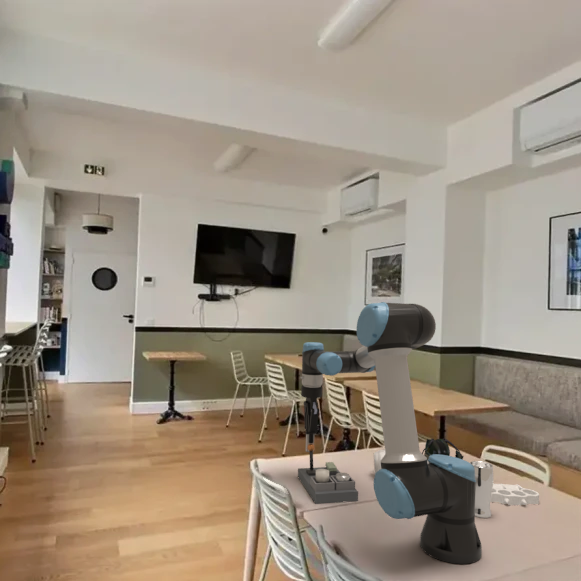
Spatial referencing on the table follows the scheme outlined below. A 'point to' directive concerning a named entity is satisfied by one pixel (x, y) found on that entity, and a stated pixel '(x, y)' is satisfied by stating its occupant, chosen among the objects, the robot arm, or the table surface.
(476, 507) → the beer glass
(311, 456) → the toggle lever
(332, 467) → the rocker switch
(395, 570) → the table surface
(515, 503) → the knuckle duster
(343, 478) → the metal button
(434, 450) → the headphones
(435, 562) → the table surface
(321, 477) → the white button
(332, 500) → the switch panel
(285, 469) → the table surface
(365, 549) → the table surface
